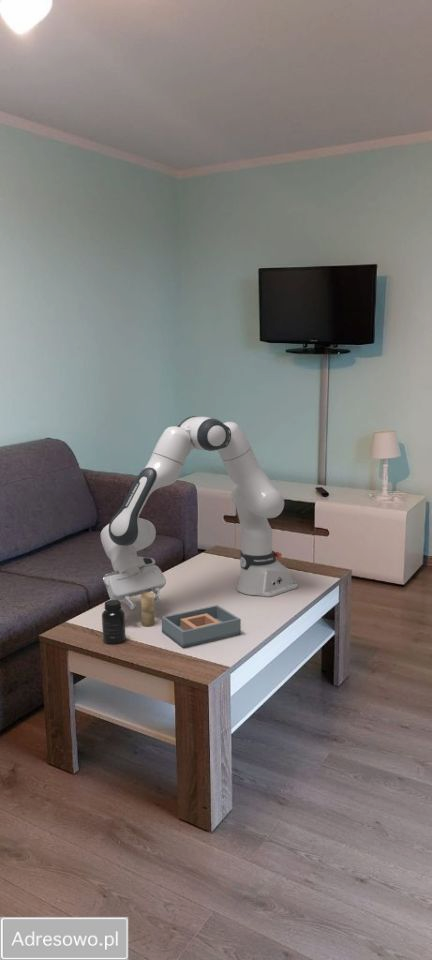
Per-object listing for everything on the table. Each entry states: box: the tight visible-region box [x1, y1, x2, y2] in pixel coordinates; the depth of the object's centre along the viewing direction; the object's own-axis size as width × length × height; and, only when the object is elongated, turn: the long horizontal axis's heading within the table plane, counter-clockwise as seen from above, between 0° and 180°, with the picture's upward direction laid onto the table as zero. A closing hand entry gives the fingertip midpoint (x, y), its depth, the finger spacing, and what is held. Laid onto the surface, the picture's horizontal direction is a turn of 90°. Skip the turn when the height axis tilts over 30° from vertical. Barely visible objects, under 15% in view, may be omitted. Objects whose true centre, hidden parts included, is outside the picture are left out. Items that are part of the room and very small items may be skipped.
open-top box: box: [161, 604, 242, 649], centre depth 223 cm, size 20×14×5 cm
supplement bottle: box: [101, 599, 126, 645], centre depth 218 cm, size 7×7×12 cm
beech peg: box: [140, 592, 155, 628], centre depth 230 cm, size 4×4×10 cm
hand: (146, 605), depth 230 cm, fingers open, 8 cm apart
